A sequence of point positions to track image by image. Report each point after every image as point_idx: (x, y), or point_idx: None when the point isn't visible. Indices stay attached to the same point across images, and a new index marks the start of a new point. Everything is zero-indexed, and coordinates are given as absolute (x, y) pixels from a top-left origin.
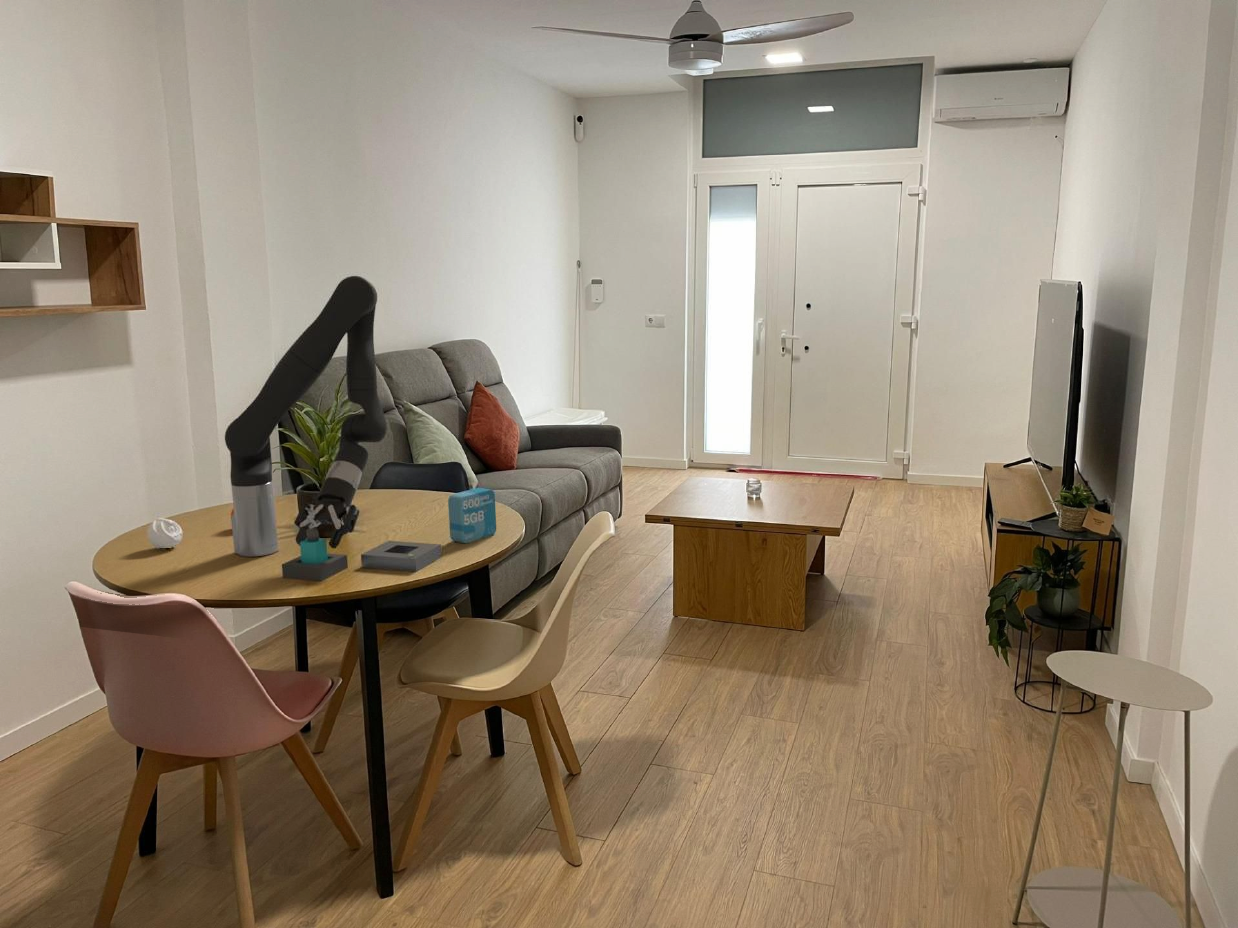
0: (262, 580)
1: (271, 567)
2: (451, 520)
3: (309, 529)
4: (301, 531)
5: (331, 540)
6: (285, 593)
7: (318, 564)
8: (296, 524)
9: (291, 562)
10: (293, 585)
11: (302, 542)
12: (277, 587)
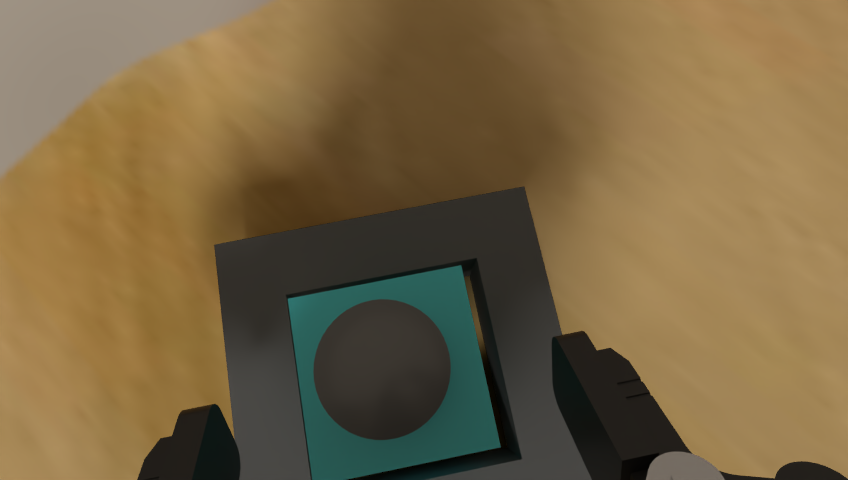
0: (570, 130)
1: (753, 330)
2: None
3: (416, 355)
4: (614, 414)
5: (183, 433)
6: (278, 37)
7: (281, 292)
8: (782, 471)
9: (498, 246)
10: (338, 140)
11: (432, 271)
12: (393, 83)
